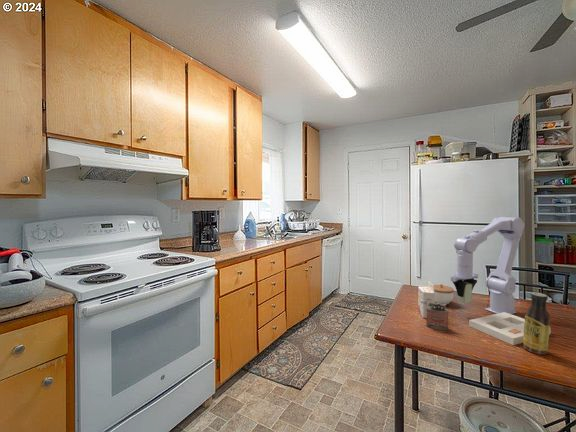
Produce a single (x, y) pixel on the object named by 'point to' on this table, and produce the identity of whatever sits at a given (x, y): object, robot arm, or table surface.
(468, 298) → the peg
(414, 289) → the table surface
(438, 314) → the lighter
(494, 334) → the slot board
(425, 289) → the ink cartridge box
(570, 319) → the table surface
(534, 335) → the sauce bottle
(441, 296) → the lidded jar
